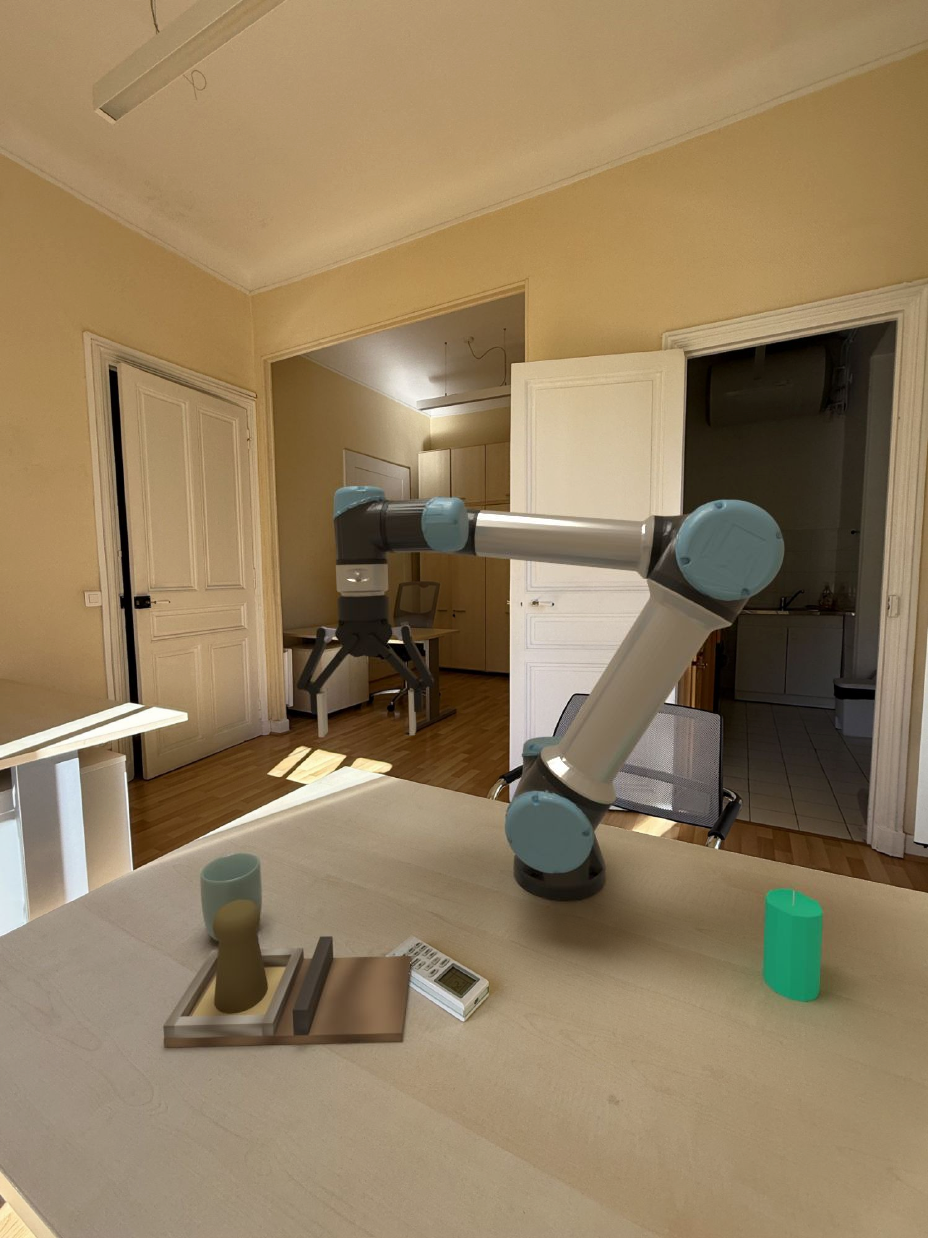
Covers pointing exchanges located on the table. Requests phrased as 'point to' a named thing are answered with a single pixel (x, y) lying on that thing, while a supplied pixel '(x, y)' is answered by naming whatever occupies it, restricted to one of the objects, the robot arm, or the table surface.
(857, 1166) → the table surface
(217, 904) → the cup
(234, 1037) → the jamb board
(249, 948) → the brown game pawn
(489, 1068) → the table surface
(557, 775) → the robot arm
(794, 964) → the candle
